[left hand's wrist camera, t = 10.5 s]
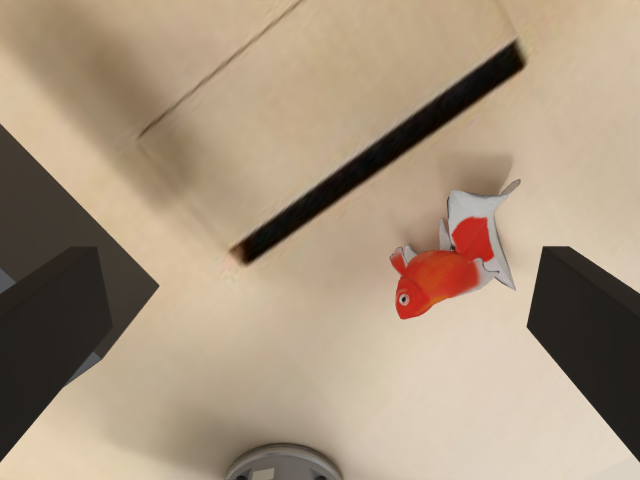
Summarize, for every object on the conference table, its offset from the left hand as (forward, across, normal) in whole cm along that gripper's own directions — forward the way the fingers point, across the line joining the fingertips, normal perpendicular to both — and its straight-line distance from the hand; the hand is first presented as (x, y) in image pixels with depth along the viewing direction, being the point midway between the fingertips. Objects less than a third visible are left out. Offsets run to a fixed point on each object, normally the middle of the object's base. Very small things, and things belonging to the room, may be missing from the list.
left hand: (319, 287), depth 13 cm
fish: (+28, -12, +8) cm, 32 cm away
